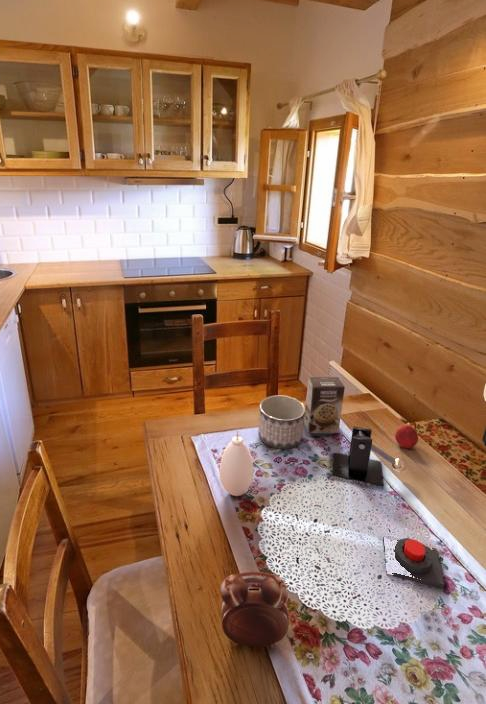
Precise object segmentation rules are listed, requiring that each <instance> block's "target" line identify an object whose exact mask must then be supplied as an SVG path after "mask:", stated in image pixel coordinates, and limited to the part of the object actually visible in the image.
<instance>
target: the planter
mask: <svg viewBox="0 0 486 704" xmlns="http://www.w3.org/2000/svg"><path fill="white" fill-rule="evenodd" d="M304 419H305V405H304V404H303V403H302V402H301V401H300V400H299V399H297V398H295V397H292V396H288V395H283V394H281V395H280V394H279V395H277V394H276V395H271V396H267V397H266V398H264V399H262V400H261V401H260V402H259V413H258V430H257V432H258V438H259V439H260V441H261V442H262V443H263V444H265V445H266V446H268V447H271V448H274V449H279V450H289V449H293V448H296V447H298V446H299V445H300V444H301V443H302V441H303V438H304V427H305V423H304Z"/></svg>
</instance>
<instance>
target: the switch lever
mask: <svg viewBox="0 0 486 704" xmlns="http://www.w3.org/2000/svg"><path fill="white" fill-rule="evenodd" d="M355 436H359V437H364V438H369V437H368V436H367V435H365V434H364V433H362V432H361V431H359V432H358V433H357V434H356V435H355ZM371 451H373V452H374V453H376V454H377V455H378V456H380V457H381V458H383V459H384V460H386V461H387V462H388V463H390V464H391V467H392V469H393V470H394V471H395V472H397V473H403V472H404V471H405V470H406V468H407V465H406V462H405V461H404V459H402V458H394V457H393V456H391V455H389V454H388V453H387V452H385V451H384V450H383V449H381V448H379V447H378V446H376V445H375V444H374V443H372V447H371Z"/></svg>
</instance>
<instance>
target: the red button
mask: <svg viewBox="0 0 486 704" xmlns="http://www.w3.org/2000/svg"><path fill="white" fill-rule="evenodd" d="M416 540H417V539H414V540H407V541H406V542H405V546H404V554H405V555H406V557H407V558H409V559H410V560H412V561H414V562H421V561H422V560H423V559H424V555H425V548H424V546H423V545H424V544H423V543H422V542H420V541H419V540H417V541H416ZM418 541H419V542H418ZM421 543H422V544H423V545H422V544H421Z"/></svg>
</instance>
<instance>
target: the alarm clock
mask: <svg viewBox="0 0 486 704" xmlns="http://www.w3.org/2000/svg"><path fill="white" fill-rule="evenodd" d="M247 576H249V577H247ZM250 576H259V577H250ZM243 577H247V578H243ZM261 577H264V578H261ZM220 585H221V586H220V596H221V598H222V603H221V612H220V613H221V615H220V616H221V628H222V631H223V633H224V634H225V636H226V637H227V638H228V639H229V641H230V640H231V641H232V642H234V643H233V645H234V647H236V646H238V645H240V646H242V647H249V648H265V647H269V646H270V647H271V648H274V645H275V644H277V643H278V642H280V641H282V640H283V639H284V638H285V636H286V635H287V633H288V630H289V609H288V604H287V600H288V597H289V589H288V586H287V584H286V582H285V581H284V579H282V577H280V576H278V575H276V574H272V573H269V572H264V571H245V572H239V573H237V574H234V573H233V574H230V575H228V576H226V578H224V579H223V581H222V583H221V584H220Z"/></svg>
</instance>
